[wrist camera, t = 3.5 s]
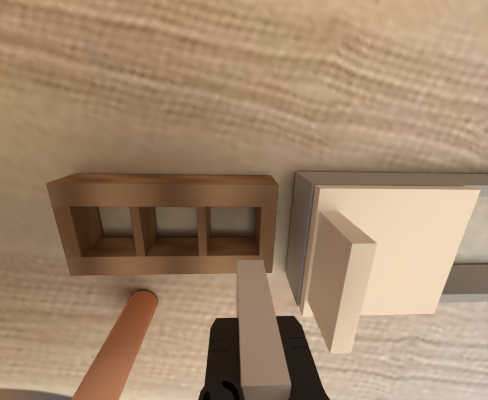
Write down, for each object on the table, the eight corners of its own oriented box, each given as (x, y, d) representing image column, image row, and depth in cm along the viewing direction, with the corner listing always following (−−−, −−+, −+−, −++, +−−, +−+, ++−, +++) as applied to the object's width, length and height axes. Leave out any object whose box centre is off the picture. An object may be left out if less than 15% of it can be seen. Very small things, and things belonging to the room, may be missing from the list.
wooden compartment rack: (93, 253, 20) (70, 275, 17) (75, 173, 18) (46, 183, 15) (266, 252, 21) (271, 272, 18) (271, 175, 19) (278, 185, 16)
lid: (299, 308, 18) (323, 372, 13) (315, 185, 14) (354, 213, 10) (425, 305, 18) (489, 365, 14) (468, 186, 15) (570, 213, 11)
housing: (285, 273, 22) (297, 305, 18) (295, 171, 19) (312, 183, 15) (503, 270, 23) (556, 299, 19) (547, 174, 20) (622, 186, 16)
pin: (131, 312, 22) (58, 452, 13) (128, 291, 21) (46, 423, 12) (158, 312, 22) (105, 449, 13) (155, 290, 22) (97, 421, 12)
